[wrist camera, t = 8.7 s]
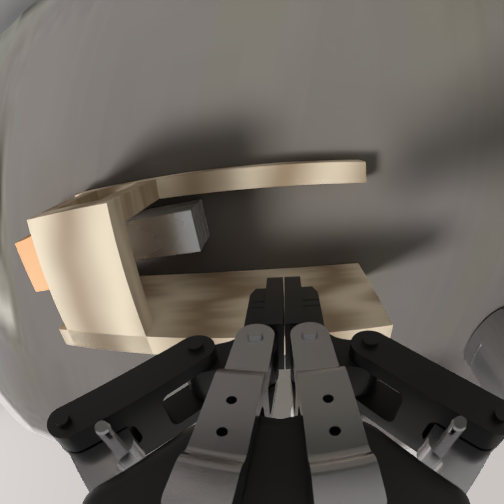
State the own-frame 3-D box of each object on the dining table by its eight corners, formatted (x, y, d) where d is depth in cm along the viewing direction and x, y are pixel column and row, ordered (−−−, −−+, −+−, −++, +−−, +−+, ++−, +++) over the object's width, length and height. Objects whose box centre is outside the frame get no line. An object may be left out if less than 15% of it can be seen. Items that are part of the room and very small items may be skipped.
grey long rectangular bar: (202, 198, 22) (190, 210, 19) (210, 234, 23) (200, 251, 20) (84, 223, 23) (62, 236, 20) (93, 252, 24) (74, 268, 21)
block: (77, 212, 23) (44, 231, 18) (95, 260, 25) (67, 286, 20) (46, 225, 23) (15, 243, 19) (63, 268, 25) (36, 292, 21)
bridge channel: (359, 159, 19) (409, 178, 12) (357, 278, 23) (388, 343, 16) (84, 191, 22) (18, 222, 14) (111, 290, 26) (66, 344, 18)
